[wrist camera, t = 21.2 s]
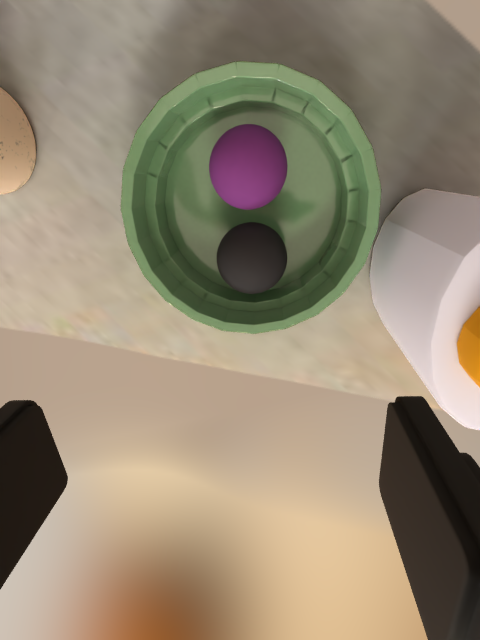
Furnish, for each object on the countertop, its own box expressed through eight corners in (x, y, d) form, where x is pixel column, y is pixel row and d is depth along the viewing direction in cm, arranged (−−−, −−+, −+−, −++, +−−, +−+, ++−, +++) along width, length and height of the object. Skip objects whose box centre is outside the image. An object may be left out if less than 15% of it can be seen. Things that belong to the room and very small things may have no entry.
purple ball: (217, 206, 29) (209, 218, 24) (209, 129, 26) (198, 125, 21) (285, 201, 28) (291, 212, 23) (283, 122, 26) (290, 116, 21)
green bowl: (167, 309, 34) (147, 337, 28) (130, 95, 26) (92, 77, 21) (353, 302, 32) (369, 330, 26) (366, 69, 24) (393, 41, 19)
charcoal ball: (224, 283, 31) (215, 305, 26) (218, 219, 29) (206, 231, 24) (286, 279, 31) (289, 302, 26) (285, 215, 28) (287, 226, 23)
